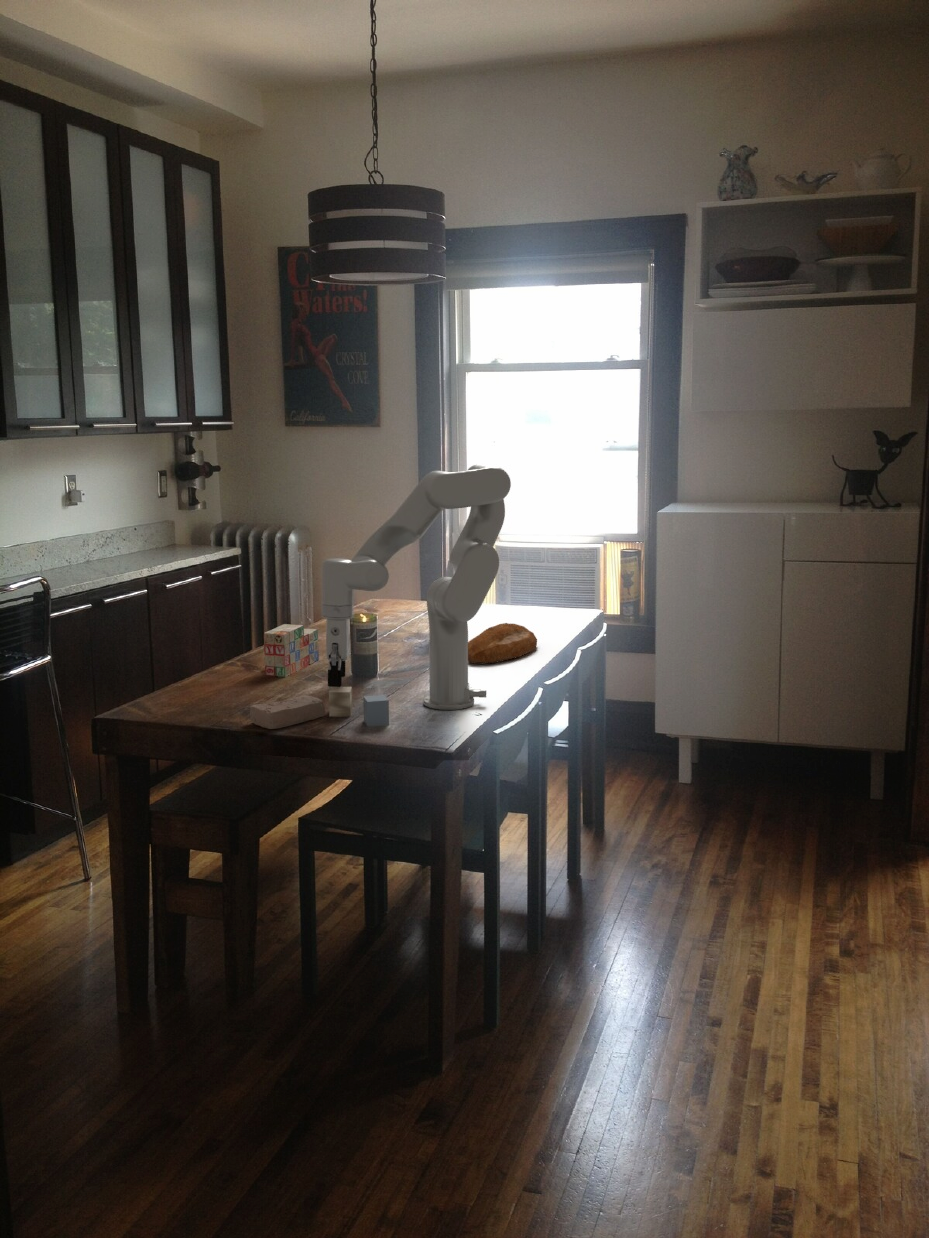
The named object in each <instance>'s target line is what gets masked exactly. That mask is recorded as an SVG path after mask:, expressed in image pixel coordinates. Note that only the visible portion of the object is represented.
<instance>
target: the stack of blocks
mask: <svg viewBox="0 0 929 1238" xmlns="http://www.w3.org/2000/svg"><path fill="white" fill-rule="evenodd" d="M318 632H319V631H318V629H317V628H305V627H304V625H303V624H289V623H288V624H287V623H284V624H281V625H279V626H277V627H275V628H273V629H271V630H268V631H265V632H264V633H263V641H264V644H263V648H264V649H263V651H264V653H263V654H264V664H265V665H264V669H265V671H264V672H265V675H270V676H269V677H275V676H278V677H277V678H288V677H289V676H291V675H293V674H296V673H297V672H300V671H301V670H302V668H303V667H304V668H306V667H308V666H310V665H312V664H314V663H316V662H317V661H319V660H320V655H319V638H318V637H319V636H318V635H319V633H318ZM315 661H316V662H315ZM309 664H310V665H309ZM304 668H303V669H304ZM300 669H301V670H300ZM296 671H297V672H296ZM290 674H291V675H290ZM288 675H289V676H288Z"/></svg>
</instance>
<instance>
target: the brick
mask: <svg viewBox="0 0 929 1238" xmlns="http://www.w3.org/2000/svg"><path fill="white" fill-rule="evenodd" d="M325 708H326V707H325V704H324V701H323V700H322V699H320V698H318V697H314V696H311V695H306V694H304V695H300V696H295V697H293V696H292V697H291V698H286V699H283V700H280V701H271V702H270V703H269V702H268V703H266V702H264V703H258V704H253V705H251V706H249V717H250V722H251V723H253V724H254V725H256V726H259V727H261V728H265V729H268V730H275V729H282V728H286V727H289V726H292V725H293V726H294V725H297V724H300V723H305V722H308V721H311V720H315V719H318V718H322V717H325V715H326V711H325V710H326V709H325Z"/></svg>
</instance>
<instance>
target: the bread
mask: <svg viewBox="0 0 929 1238" xmlns="http://www.w3.org/2000/svg"><path fill="white" fill-rule="evenodd" d="M537 645H538V639H537V636H536V635H535V634H534V632H533V631H531V630H529V629H528V628H526V627H525V626H523V625H520V624H517V623H508V622H504V623H500V624H497V625H494V626H490V627H488V628H486V629H485V630H482V632H481V633H479V634H477V636H475V637H473V638H471V639H470V640H468V663H472V664H478V663H487V664H493V663H492V662H495V663H498V662H497V661H500V662H503V661H502V660H505V661H508V660H507V659H510V660H512V659H511V658H514V659H516V658H515V657H518V658H520V657H522V655H523V656H524V654H525V655H526V654H529V653H530V652H532V651H533V650H535V648H536V647H537Z"/></svg>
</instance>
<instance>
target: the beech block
mask: <svg viewBox="0 0 929 1238" xmlns="http://www.w3.org/2000/svg"><path fill="white" fill-rule="evenodd" d="M328 710H329V711H328V712H329V713H328V715H329V717H351V716H352V711H353V689H352V686H341V687H329V691H328Z"/></svg>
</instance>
